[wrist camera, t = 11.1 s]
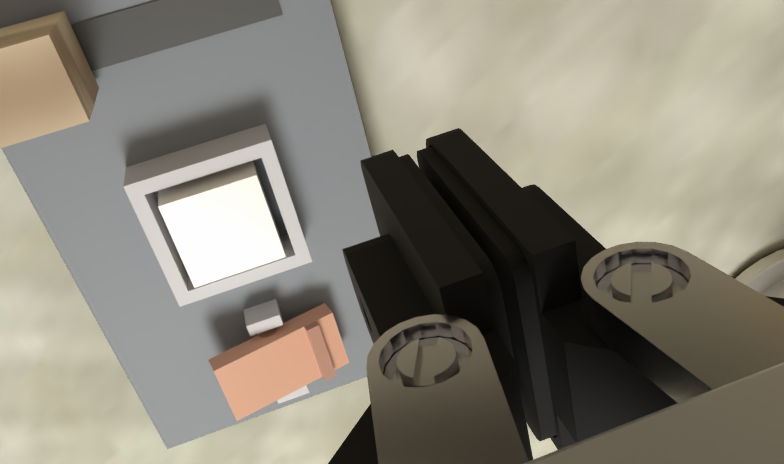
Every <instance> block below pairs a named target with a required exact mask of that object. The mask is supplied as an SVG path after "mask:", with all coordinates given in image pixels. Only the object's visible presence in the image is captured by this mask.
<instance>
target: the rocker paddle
mask: <svg viewBox="0 0 784 464" xmlns="http://www.w3.org/2000/svg"><path fill="white" fill-rule="evenodd" d="M208 361H209V363H210V365H211V367H212V369H213V371H214V373H215V376H216V378H217V380H218V382H219V384H220V386H221V388H222V391H223V393H224V395H225V397H226V399H227V401H228V403H229V406H230V408H231V410H232V412H233V414H234V416H235V418H236V420H237V421H238V420H240V419H242V418H244V417H246V416H248V415H250V414H252V413H254V412H256V411H258V410H259V409H261V408H263V407H265V406H267V405H269V404H271V403H273V402H275V401H277V400H279V399H281V398H282V397H284V396H286V395H288V394H290V393H292V392H294V391H296V390H298V389H300V388H302V387H304V386H306V385H307V384H309V383H311V382H313V381H315V380H317V379H319V378H321V377H323V379H324V380H325V381H327V380H329V379H331V378H332V377H334V376H336V373H335V370H336V369H338V368H340V367H342V366H344V365H346V364H348V363H349V360H348V357H347V354H346V351H345V348H344V345H343V342H342V339H341V336H340V333H339V330H338V327H337V324H336V321H335V318H334V315H333V312H332V311H331V310H330V309H329V308H328V306H327V305H326V304H325V303H323V304H321V305H319V306H317V307H315V308H313V309H311V310H309V311H307V312H305V313H303V314H301V315H299V316H297V317H295V318H293V319H291V320H289V321H287V322H284V323H283V325H281V326H279V327H276V328H273V329H270V330H267V331H264V332H261V333H259V334H258V336H256V337H254V338H252V339H250V340H248V341H246V342H243V343H241V344H239V345H237V346H235V347H233V348H231V349H229V350H227V351H225V352H223V353H221V354H219V355H217V356H215V357H213V358H211V359H209V360H208Z"/></svg>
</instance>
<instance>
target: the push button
mask: <svg viewBox="0 0 784 464" xmlns="http://www.w3.org/2000/svg"><path fill="white" fill-rule="evenodd" d="M158 208H159V210H160V212H161V214H162V217H163V219H164V221H165V223H166V226H167V228H168V230H169V232H170V235H171V237H172V239H173V241H174V243H175V246H176V248H177V250H178V252H179V255H180V257H181V259H182V261H183V263H184V266H185V268H186V270H187V272H188V275H189V277H190V279H191V281H192V284H193V286H194V288H196V287H199V286H202V285H205V284H207V283H210V282H213V281H216V280H219V279H222V278H225V277H228V276H231V275H234V274H237V273H240V272H243V271H246V270H249V269H252V268H255V267H258V266H261V265H264V264H267V263H270V262H273V261H276V260H279V259H282V258H285V257H286V256H285V252H284V249H283V245H282V242H281V238H280V235H279V231H278V229H277V226H276V223H275V220H274V217H273V215H272V212H271V209H270V206H269V203H268V200H267V198H266V195H265V192H264V189H263V186H262V184H261V181H260V178H259V175H258V172H257V170H256V167H255V164H254V161H250V162H246V163H243V164H240V165H237V166H234V167H231V168H228V169H224V170H221V171H218V172H215V173H212V174H209V175H206V176H202V177H199V178H196V179H193V180H190V181H187V182H184V183H181V184H177V185H174V186H171V187H168V188H165V189H162V190H159V191H158Z"/></svg>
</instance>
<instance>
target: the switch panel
mask: <svg viewBox="0 0 784 464" xmlns="http://www.w3.org/2000/svg"><path fill="white" fill-rule="evenodd" d="M61 11H65V13H66V15H67V18H68V20H69V22H70V24H71V27H72V29H73V31H74V33H75V35H76V38H77V40H78V42H79V44H80V46H81V49H82V51H83V53H84V55H85V57H86V60H87V62H88V64H89V66H90V68H91V71H92V73H93V75H94V77H95V80H96V82H97V84H98V86H99V90H98V94H97V97H96V101H95V104H94V108H93V111H92V115H91V118H90V121H89V122H86V123H82V124H79V125H76V126H72V127H69V128H66V129H63V130H59V131H56V132H53V133H49V134H46V135H43V136H39V137H36V138H33V139H30V140H26V141H23V142H20V143H16V144H13V145H10V146H7V147H3V148H2V150H3V152H4V154H5V155H6V157H7V159H8V161H9V163H10V165H11V166H12V168H13V170H14V172H15V174H16V175H17V177H18V179H19V181H20V183H21V184H22V186H23V188H24V190H25V192H26V194H27V195H28V197H29V199H30V201H31V203H32V204H33V206H34V208H35V210H36V212H37V213H38V215H39V217H40V219H41V221H42V223H43V224H44V226H45V228H46V230H47V232H48V233H49V235H50V237H51V239H52V241H53V242H54V244H55V246H56V248H57V250H58V252H59V253H60V255H61V257H62V259H63V261H64V262H65V264H66V266H67V268H68V270H69V272H70V273H71V275H72V277H73V279H74V281H75V282H76V284H77V286H78V288H79V290H80V291H81V293H82V295H83V297H84V299H85V301H86V302H87V304H88V306H89V308H90V310H91V311H92V313H93V315H94V317H95V319H96V320H97V322H98V324H99V326H100V328H101V330H102V331H103V333H104V335H105V337H106V339H107V340H108V342H109V344H110V346H111V348H112V349H113V351H114V353H115V355H116V357H117V359H118V360H119V362H120V364H121V366H122V368H123V369H124V371H125V373H126V375H127V377H128V379H129V380H130V382H131V384H132V386H133V388H134V389H135V391H136V393H137V395H138V397H139V398H140V400H141V402H142V404H143V406H144V408H145V409H146V411H147V413H148V415H149V417H150V418H151V420H152V422H153V424H154V426H155V427H156V429H157V431H158V433H159V435H160V437H161V438H162V440H163V442H164V444H165V446H166V447H167V449H169V448H172V447H174V446H177V445H180V444H183V443H185V442H188V441H191V440H194V439H196V438H199V437H202V436H205V435H207V434H210V433H213V432H216V431H218V430H221V429H224V428H227V427H229V426H232V425H235V424H238V423H240V422H243V421H246V420H249V419H251V418H254V417H257V416H260V415H262V414H265V413H268V412H271V411H273V410H276V409H279V408H282V407H284V406H287V405H290V404H293V403H295V402H298V401H301V400H304V399H306V398H309V397H312V396H315V395H317V394H320V393H323V392H326V391H328V390H331V389H334V388H337V387H339V386H342V385H345V384H348V383H350V382H353V381H356V380H359V379H361V378H364V377H367V370H366V366H367V356H368V354H369V352H370V350H371V348H372V346H373V341H372V339H371V336H370V334H369V331H368V328H367V326H366V323H365V320H364V317H363V314H362V312H361V309H360V306H359V303H358V300H357V297H356V294H355V291H354V287H353V284H352V281H351V278H350V275H349V272H348V268H347V265H346V262H345V259H344V255H343V250H342V249H344V248H347V247H350V246H353V245H356V244H359V243H362V242H365V241H368V240H371V239H374V238H377V237H380V234H379V230H378V227H377V223H376V220H375V216H374V212H373V209H372V205H371V202H370V198H369V194H368V191H367V187H366V184H365V180H364V177H363V173H362V169H361V163H360V161H361V160H363V159H366V158H369V157H371V154H370V150H369V146H368V143H367V139H366V135H365V131H364V127H363V124H362V120H361V116H360V112H359V108H358V104H357V101H356V97H355V93H354V89H353V85H352V82H351V78H350V74H349V70H348V66H347V62H346V59H345V55H344V51H343V47H342V43H341V40H340V36H339V32H338V28H337V24H336V20H335V17H334V13H333V9H332V5H331V1H330V0H0V29H1V28H4V27H8V26H11V25H15V24H18V23H22V22H25V21H29V20H32V19H36V18H40V17H43V16H47V15H50V14H54V13H57V12H61ZM250 161H254V164H255V167H256V170H257V172H258V175H259V178H260V181H261V184H262V186H263V189H264V192H265V195H266V198H267V200H268V203H269V206H270V209H271V212H272V215H273V217H274V220H275V223H276V226H277V229H278V231H279V235H280V238H281V242H282V245H283V249H284V252H285V256H286V257H285V258H282V259H279V260H276V261H273V262H270V263H267V264H264V265H261V266H258V267H255V268H252V269H249V270H246V271H243V272H240V273H237V274H234V275H231V276H228V277H225V278H222V279H219V280H216V281H213V282H210V283H207V284H205V285H202V286H199V287H196V288H194V286H193V284H192V281H191V279H190V277H189V275H188V272H187V270H186V268H185V266H184V263H183V261H182V259H181V257H180V255H179V252H178V250H177V248H176V246H175V243H174V241H173V239H172V237H171V235H170V232H169V230H168V228H167V226H166V223H165V221H164V219H163V217H162V214H161V212H160V210H159V208H158V191H159V190H162V189H165V188H168V187H171V186H174V185H177V184H181V183H184V182H187V181H190V180H193V179H196V178H199V177H202V176H206V175H209V174H212V173H215V172H218V171H221V170H224V169H228V168H231V167H234V166H237V165H240V164H243V163H246V162H250ZM323 303H325V304H326V305H327V306H328V308H329V309H330V310H331V311H332V312H333V315H334V318H335V321H336V324H337V327H338V330H339V333H340V336H341V339H342V342H343V345H344V348H345V351H346V354H347V357H348V360H349V363H348V364H346V365H344V366H342V367H340V368H338V369H336V370H335V373H336V376H334V377H332V378H331V379H329V380H327V381H325V380H324V379H323V377H321V378H319V379H317V380H315V381H313V382H311V383H309V384H307V385H306V386H304V387H302V388H300V389H298V390H296V391H294V392H292V393H290V394H288V395H286V396H284V397H282V398H281V399H279V400H277V401H275V402H273V403H271V404H269V405H267V406H265V407H263V408H261V409H259V410H258V411H256V412H254V413H252V414H250V415H248V416H246V417H244V418H242V419H240V420H238V421H237V420H236V418H235V416H234V414H233V412H232V410H231V408H230V406H229V403H228V401H227V399H226V397H225V395H224V393H223V391H222V388H221V386H220V384H219V382H218V380H217V378H216V376H215V373H214V371H213V369H212V367H211V365H210V363H209V361H208V360H209V359H211V358H213V357H215V356H217V355H219V354H221V353H223V352H225V351H227V350H229V349H231V348H233V347H235V346H237V345H239V344H241V343H243V342H246V341H248V340H250V339H252V338H254V337H256V336H258V334H259V333H261V332H264V331H267V330H270V329H273V328H276V327H279V326H281V325H283V323H284V322H287V321H289V320H291V319H293V318H295V317H297V316H299V315H301V314H303V313H305V312H307V311H309V310H311V309H313V308H315V307H317V306H319V305H321V304H323Z"/></svg>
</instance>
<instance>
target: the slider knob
mask: <svg viewBox="0 0 784 464" xmlns="http://www.w3.org/2000/svg"><path fill="white" fill-rule="evenodd" d="M98 90H99V86H98V84H97V82H96V80H95V77H94V75H93V73H92V71H91V68H90V66H89V64H88V62H87V60H86V57H85V55H84V53H83V51H82V49H81V46H80V44H79V42H78V40H77V38H76V35H75V33H74V31H73V29H72V27H71V24H70V22H69V20H68V18H67V15H66V13H65V11H61V12H57V13H54V14H50V15H47V16H43V17H40V18H36V19H32V20H29V21H25V22H22V23H18V24H15V25H11V26H8V27H4V28H1V29H0V148H3V147H7V146H10V145H13V144H16V143H20V142H23V141H26V140H30V139H33V138H36V137H39V136H43V135H46V134H49V133H53V132H56V131H59V130H63V129H66V128H69V127H72V126H76V125H79V124H82V123H86V122H89V121H90V118H91V115H92V111H93V108H94V104H95V101H96V97H97V94H98Z"/></svg>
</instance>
